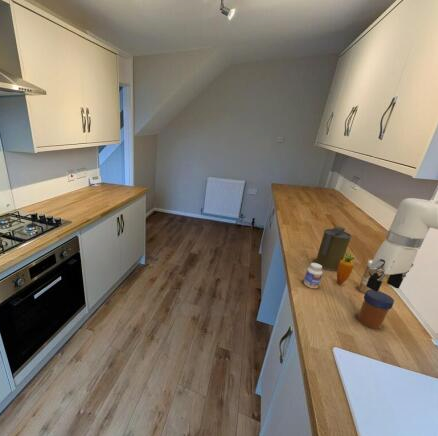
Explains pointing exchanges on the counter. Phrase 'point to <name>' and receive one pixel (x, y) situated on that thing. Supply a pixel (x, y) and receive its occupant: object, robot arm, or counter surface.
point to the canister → (333, 248)
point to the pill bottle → (313, 275)
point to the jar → (371, 315)
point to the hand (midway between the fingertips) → (382, 287)
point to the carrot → (345, 268)
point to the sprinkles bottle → (366, 278)
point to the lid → (379, 299)
